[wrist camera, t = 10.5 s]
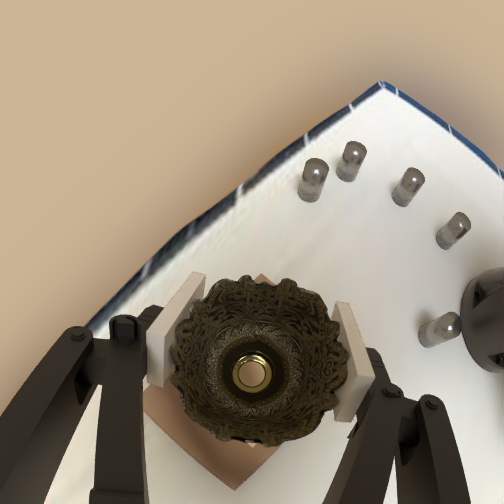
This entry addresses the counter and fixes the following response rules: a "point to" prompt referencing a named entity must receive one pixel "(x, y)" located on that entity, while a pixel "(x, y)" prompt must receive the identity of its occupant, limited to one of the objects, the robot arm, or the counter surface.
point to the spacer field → (402, 196)
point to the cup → (258, 361)
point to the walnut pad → (200, 439)
